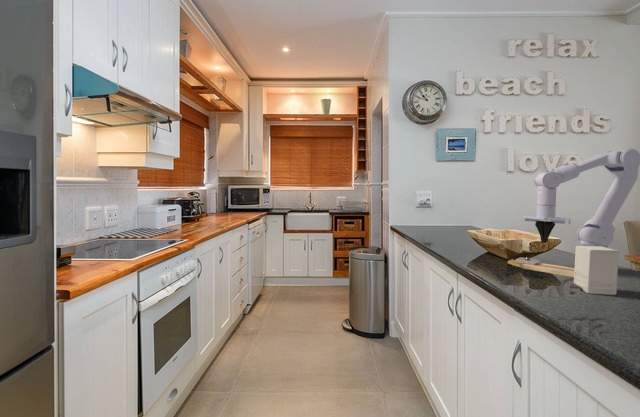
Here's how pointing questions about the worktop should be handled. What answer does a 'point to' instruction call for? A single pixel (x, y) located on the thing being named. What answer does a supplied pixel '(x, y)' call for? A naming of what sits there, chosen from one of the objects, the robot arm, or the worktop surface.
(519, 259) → the lever cap
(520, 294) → the worktop surface
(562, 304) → the worktop surface
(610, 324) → the worktop surface
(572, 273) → the board
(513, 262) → the lever
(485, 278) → the worktop surface
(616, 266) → the supplement box
